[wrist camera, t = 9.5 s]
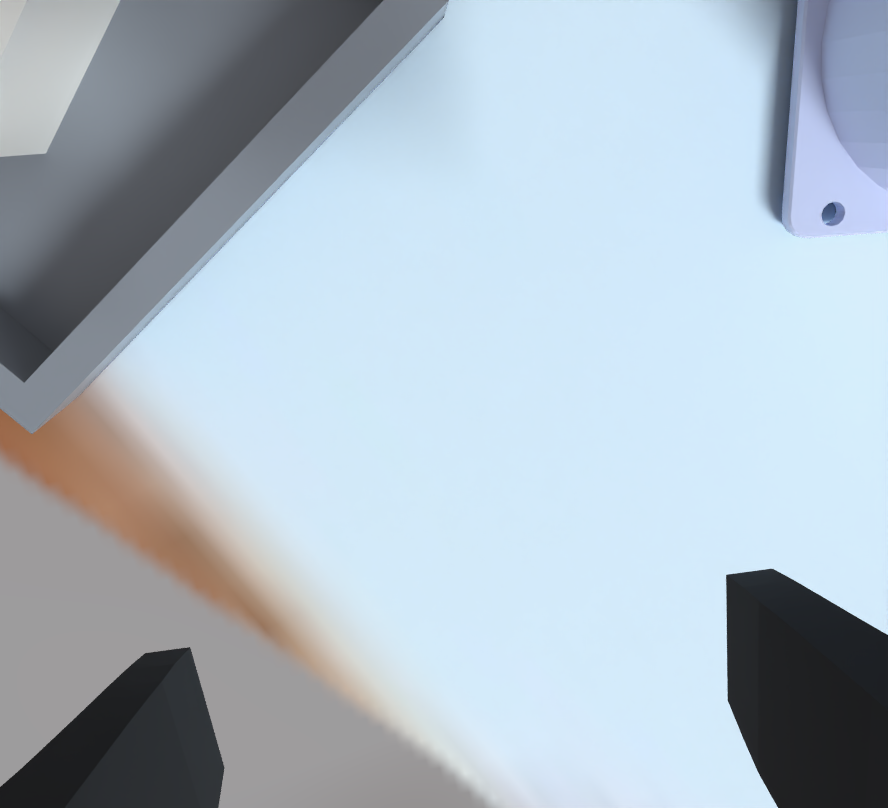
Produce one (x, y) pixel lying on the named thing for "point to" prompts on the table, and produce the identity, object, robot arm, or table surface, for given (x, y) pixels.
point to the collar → (44, 65)
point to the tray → (170, 167)
